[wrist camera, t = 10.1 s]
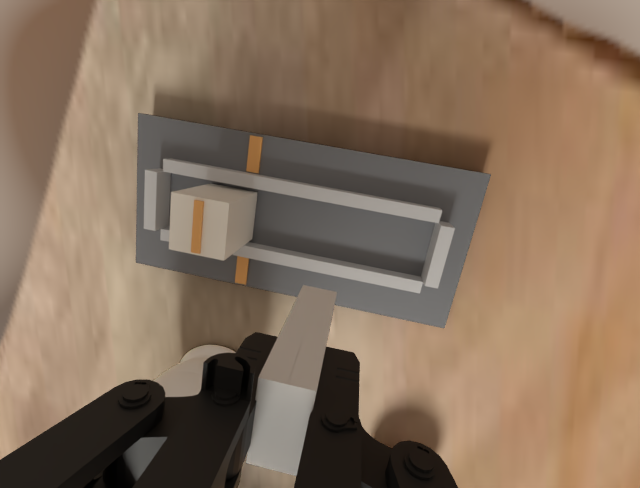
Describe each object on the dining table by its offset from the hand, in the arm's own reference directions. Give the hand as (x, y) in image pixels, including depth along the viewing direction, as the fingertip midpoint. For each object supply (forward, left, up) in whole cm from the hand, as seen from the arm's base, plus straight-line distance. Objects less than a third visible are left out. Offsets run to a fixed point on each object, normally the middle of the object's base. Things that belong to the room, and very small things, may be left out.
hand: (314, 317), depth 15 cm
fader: (+1, +9, -14) cm, 17 cm away
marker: (+1, +8, -14) cm, 16 cm away
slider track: (+1, +4, -16) cm, 16 cm away
